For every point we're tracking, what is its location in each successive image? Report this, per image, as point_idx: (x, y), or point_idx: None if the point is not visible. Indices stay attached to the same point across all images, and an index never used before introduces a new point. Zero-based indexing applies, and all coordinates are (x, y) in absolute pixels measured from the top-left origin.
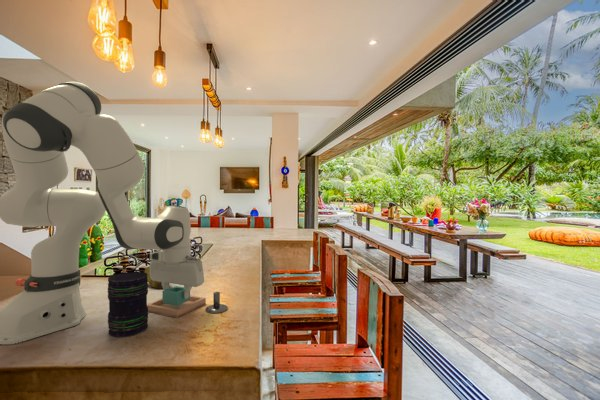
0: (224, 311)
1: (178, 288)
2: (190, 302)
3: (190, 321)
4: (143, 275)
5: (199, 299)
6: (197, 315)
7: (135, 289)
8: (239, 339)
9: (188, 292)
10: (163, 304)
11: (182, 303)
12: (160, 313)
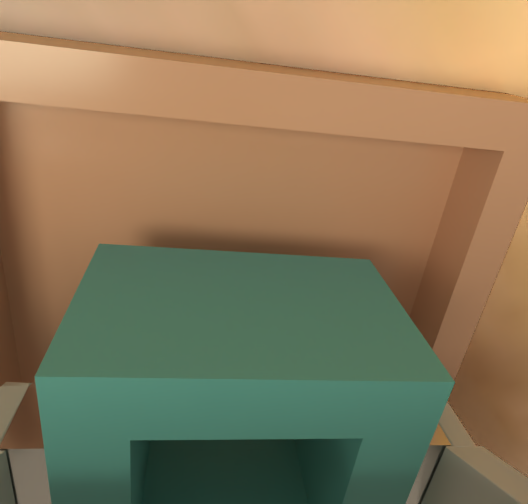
0: None
1: (195, 426)
2: (318, 173)
3: (505, 457)
4: None
5: (494, 199)
6: (520, 371)
7: None
8: None
9: (474, 459)
10: (38, 336)
11: (237, 236)
12: None
